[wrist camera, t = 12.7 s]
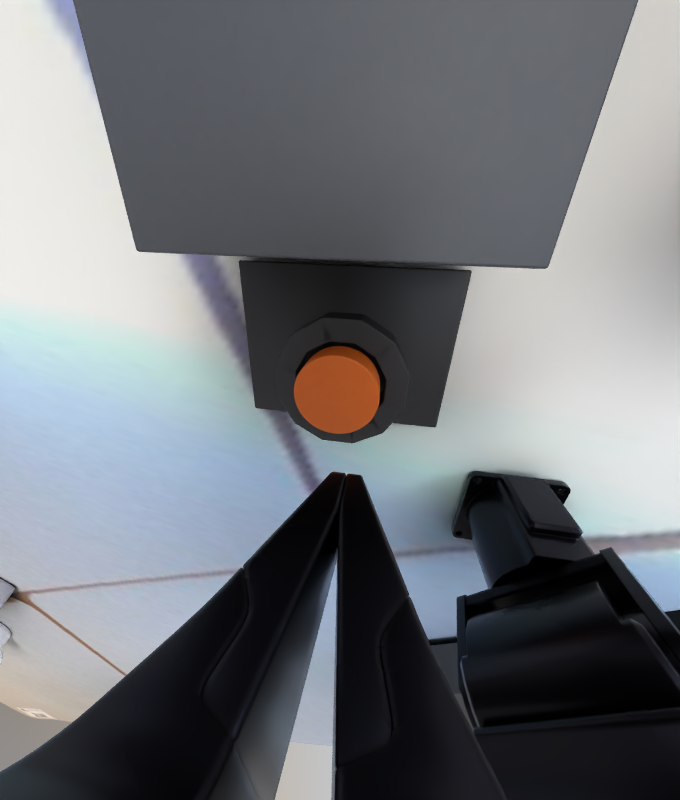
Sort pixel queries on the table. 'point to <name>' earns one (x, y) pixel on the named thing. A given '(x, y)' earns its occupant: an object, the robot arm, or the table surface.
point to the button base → (354, 333)
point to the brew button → (338, 390)
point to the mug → (3, 638)
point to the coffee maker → (448, 664)
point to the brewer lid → (352, 123)
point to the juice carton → (5, 591)
